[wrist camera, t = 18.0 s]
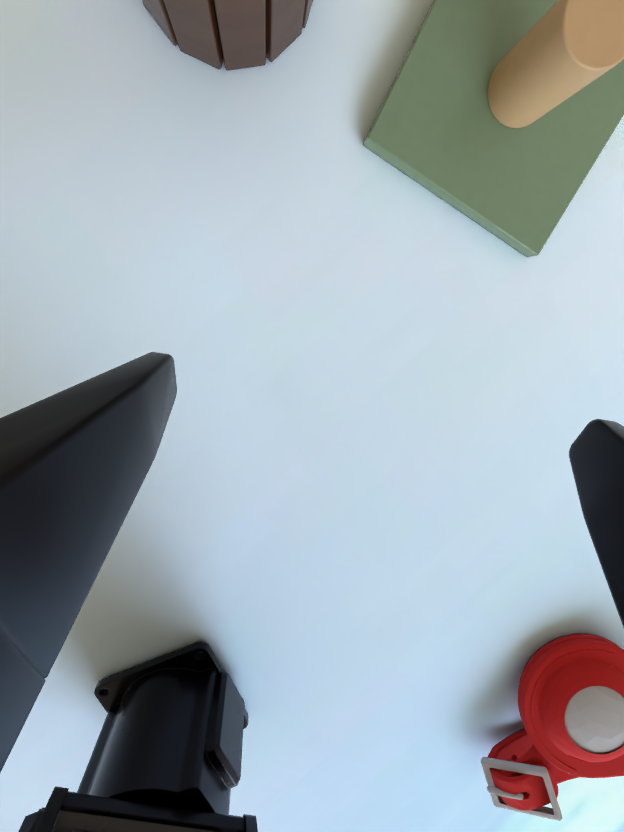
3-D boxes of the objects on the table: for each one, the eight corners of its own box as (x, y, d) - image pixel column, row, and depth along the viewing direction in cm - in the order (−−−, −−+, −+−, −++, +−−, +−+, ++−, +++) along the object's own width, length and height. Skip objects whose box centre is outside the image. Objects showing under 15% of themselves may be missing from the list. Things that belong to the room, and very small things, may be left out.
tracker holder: (551, 627, 23) (723, 690, 22) (515, 595, 27) (658, 647, 27) (483, 828, 23) (655, 896, 22) (458, 763, 27) (601, 819, 27)
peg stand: (527, 258, 18) (619, 240, 14) (361, 145, 16) (401, 79, 12) (648, 57, 17) (802, -43, 12) (480, -95, 15) (584, -288, 10)
